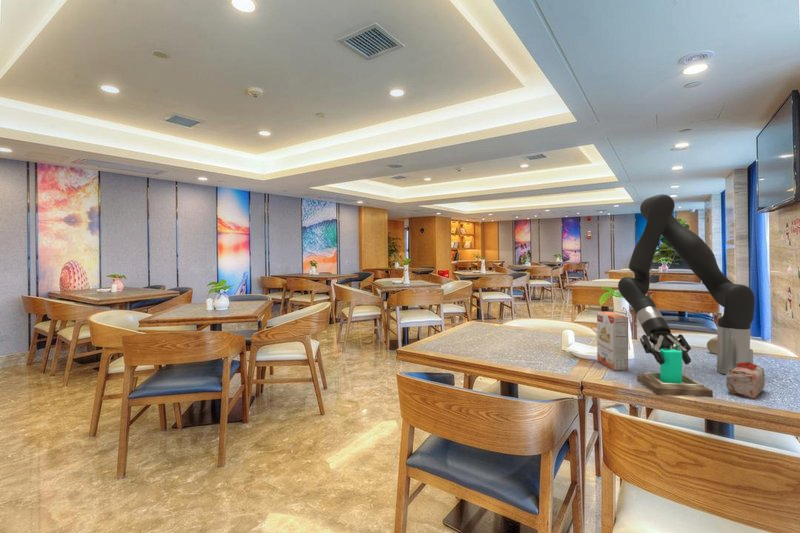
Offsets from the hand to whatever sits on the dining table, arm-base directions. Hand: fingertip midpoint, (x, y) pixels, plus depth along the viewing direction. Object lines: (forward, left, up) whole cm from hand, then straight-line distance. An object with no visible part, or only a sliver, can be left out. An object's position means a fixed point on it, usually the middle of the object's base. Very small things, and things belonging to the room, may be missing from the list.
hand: (675, 363), depth 127 cm
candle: (+1, -2, -7) cm, 7 cm away
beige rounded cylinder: (-45, -52, -9) cm, 69 cm away
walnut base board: (0, -1, -9) cm, 9 cm away
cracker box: (+10, -26, -9) cm, 30 cm away
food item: (-21, 0, -9) cm, 22 cm away
